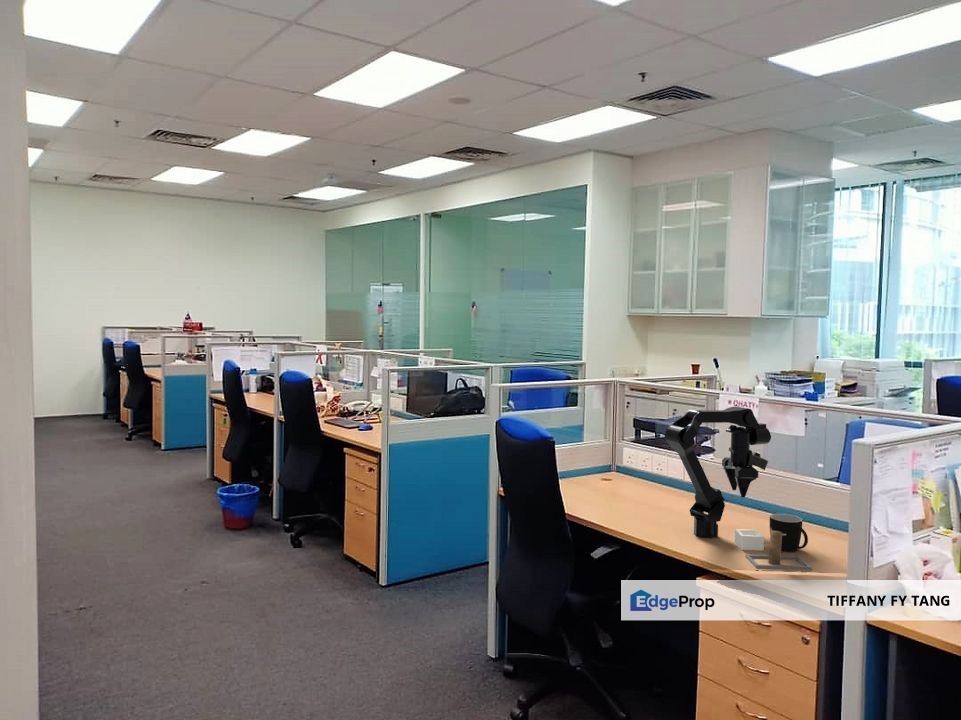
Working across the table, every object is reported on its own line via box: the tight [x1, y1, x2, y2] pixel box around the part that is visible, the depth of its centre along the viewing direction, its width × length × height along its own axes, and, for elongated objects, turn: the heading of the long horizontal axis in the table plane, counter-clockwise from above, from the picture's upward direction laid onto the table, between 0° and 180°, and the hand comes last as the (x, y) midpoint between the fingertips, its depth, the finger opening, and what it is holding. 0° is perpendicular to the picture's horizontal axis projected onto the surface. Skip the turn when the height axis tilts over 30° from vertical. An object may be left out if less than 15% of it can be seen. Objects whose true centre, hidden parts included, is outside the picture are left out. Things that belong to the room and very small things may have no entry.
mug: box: [769, 513, 809, 553], centre depth 206 cm, size 12×9×10 cm
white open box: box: [733, 528, 765, 551], centre depth 209 cm, size 7×7×5 cm
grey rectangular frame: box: [745, 553, 813, 573], centre depth 195 cm, size 15×9×2 cm, turn 86°
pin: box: [767, 531, 782, 565], centre depth 195 cm, size 3×3×9 cm
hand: (738, 493), depth 224 cm, fingers open, 9 cm apart
